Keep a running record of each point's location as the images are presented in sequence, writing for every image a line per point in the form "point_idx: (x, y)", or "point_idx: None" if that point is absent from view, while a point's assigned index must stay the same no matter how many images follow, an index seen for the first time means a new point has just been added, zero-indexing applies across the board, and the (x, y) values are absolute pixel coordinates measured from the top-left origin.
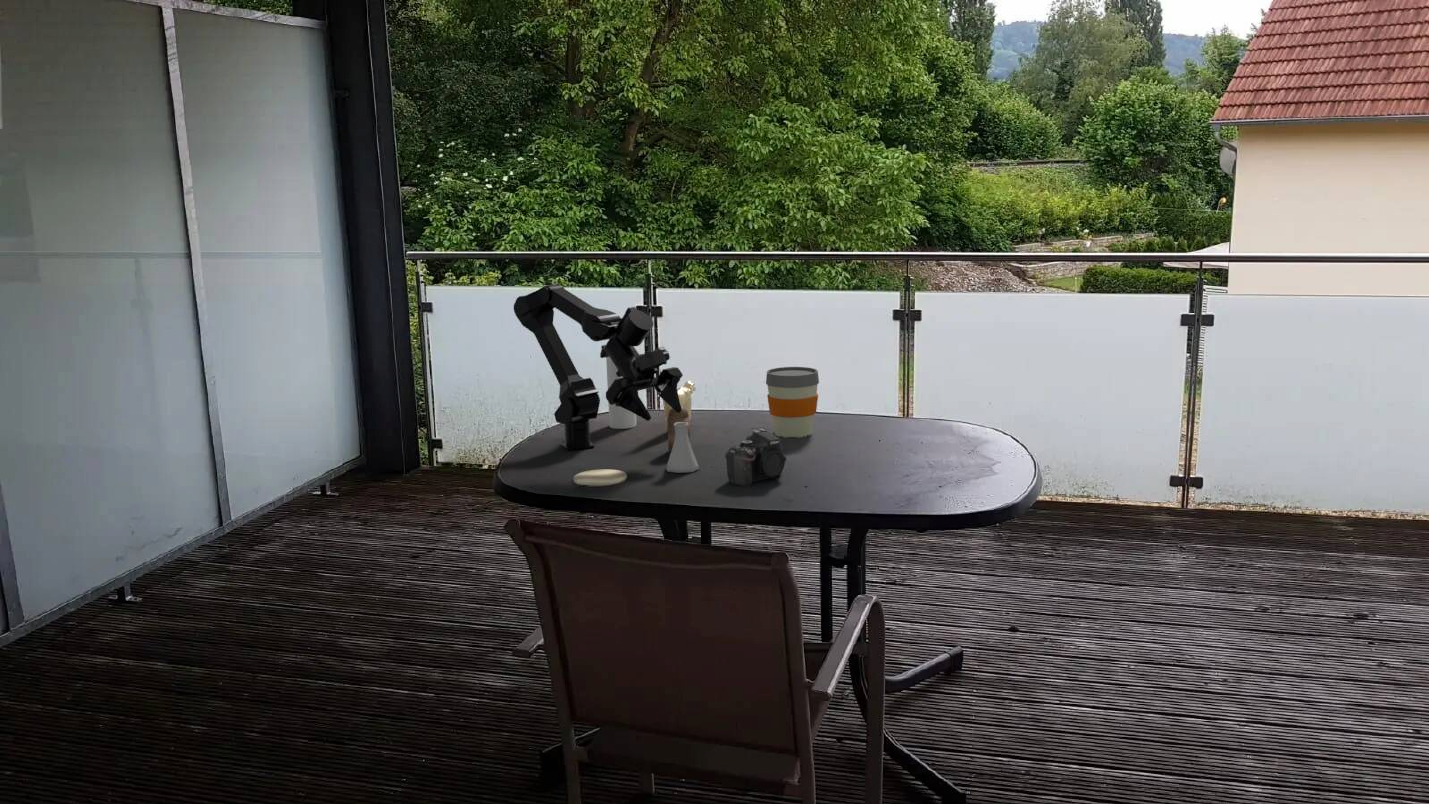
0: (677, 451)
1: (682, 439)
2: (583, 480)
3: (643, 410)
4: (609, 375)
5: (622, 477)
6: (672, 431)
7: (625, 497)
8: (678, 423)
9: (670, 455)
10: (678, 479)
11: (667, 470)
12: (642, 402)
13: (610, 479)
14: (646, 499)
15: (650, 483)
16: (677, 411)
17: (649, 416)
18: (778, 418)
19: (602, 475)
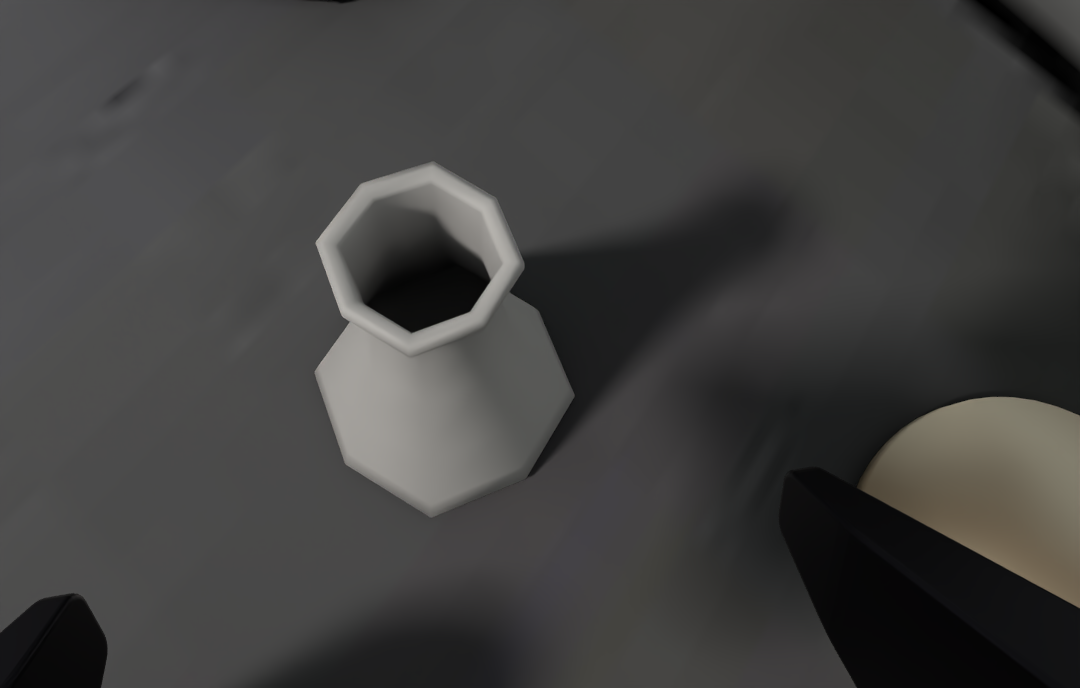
0: (516, 313)
1: (467, 258)
2: None
3: (961, 552)
4: None
5: (920, 443)
6: None
7: (1033, 146)
8: (403, 331)
9: (515, 425)
10: (616, 216)
11: (571, 398)
12: (1047, 672)
13: (1007, 456)
14: (955, 49)
15: (796, 265)
16: (96, 671)
17: (824, 474)
18: None
19: None
